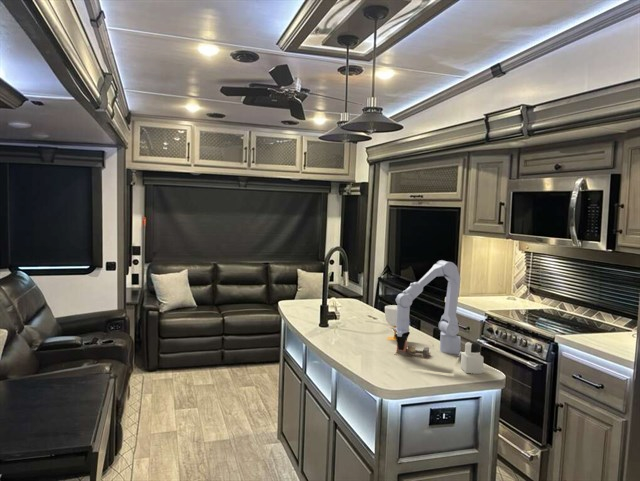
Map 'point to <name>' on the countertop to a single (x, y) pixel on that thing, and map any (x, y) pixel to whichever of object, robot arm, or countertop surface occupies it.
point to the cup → (391, 318)
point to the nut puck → (411, 349)
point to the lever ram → (403, 349)
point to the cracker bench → (416, 354)
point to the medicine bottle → (472, 359)
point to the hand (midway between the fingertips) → (401, 348)
